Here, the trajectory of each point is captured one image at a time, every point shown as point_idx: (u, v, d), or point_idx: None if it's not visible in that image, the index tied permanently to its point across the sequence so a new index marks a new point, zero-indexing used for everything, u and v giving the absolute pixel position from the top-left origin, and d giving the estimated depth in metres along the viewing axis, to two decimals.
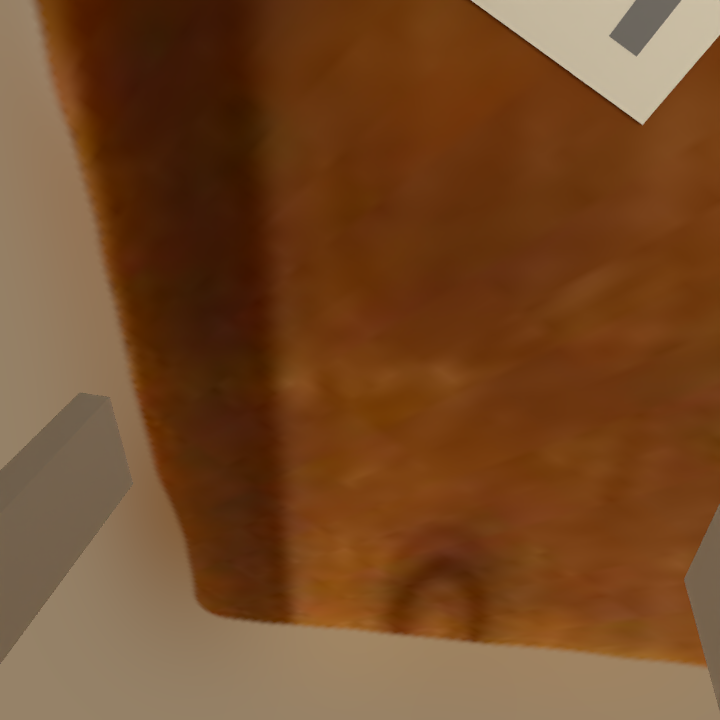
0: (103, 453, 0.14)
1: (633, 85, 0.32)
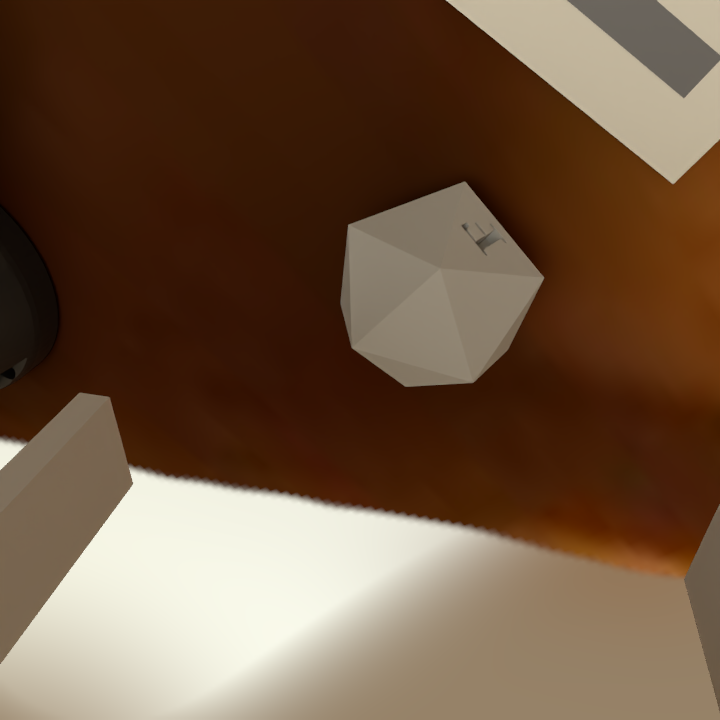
0: (103, 453, 0.14)
1: None
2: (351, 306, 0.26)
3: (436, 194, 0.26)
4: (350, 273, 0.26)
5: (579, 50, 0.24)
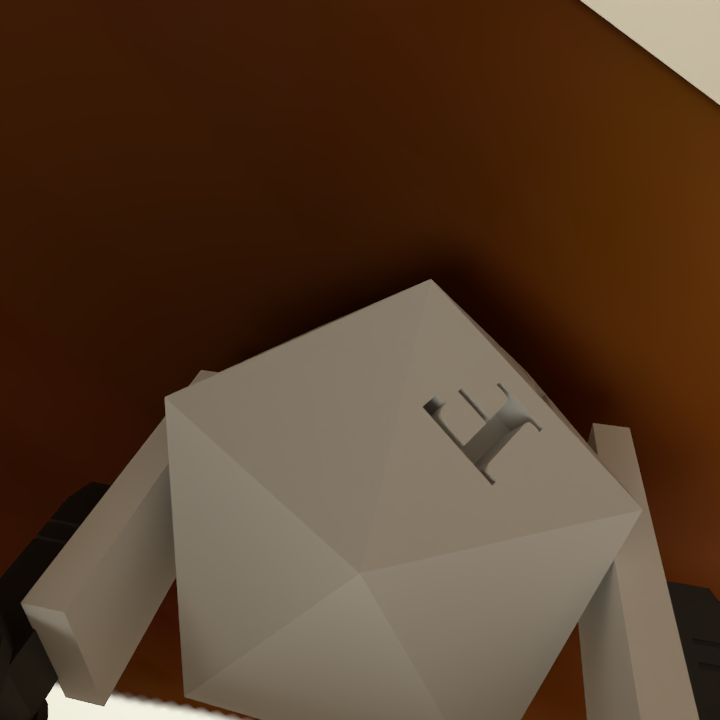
0: None
1: None
2: (179, 595, 0.11)
3: (363, 315, 0.11)
4: (173, 514, 0.11)
5: None
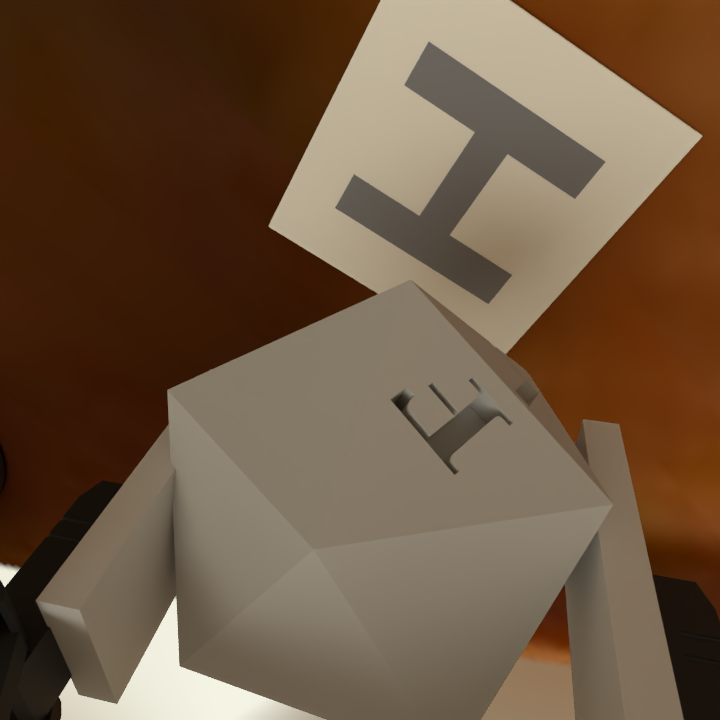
0: None
1: (643, 157, 0.24)
2: (176, 572, 0.12)
3: (346, 314, 0.11)
4: (173, 497, 0.12)
5: (396, 269, 0.29)
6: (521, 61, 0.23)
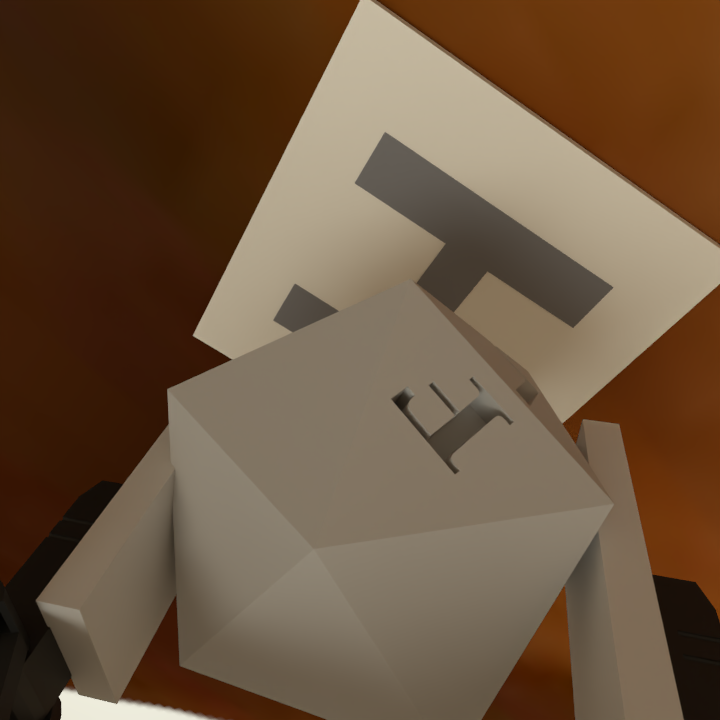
0: None
1: (662, 285, 0.18)
2: (176, 571, 0.12)
3: (347, 313, 0.11)
4: (173, 497, 0.12)
5: None
6: (506, 161, 0.17)
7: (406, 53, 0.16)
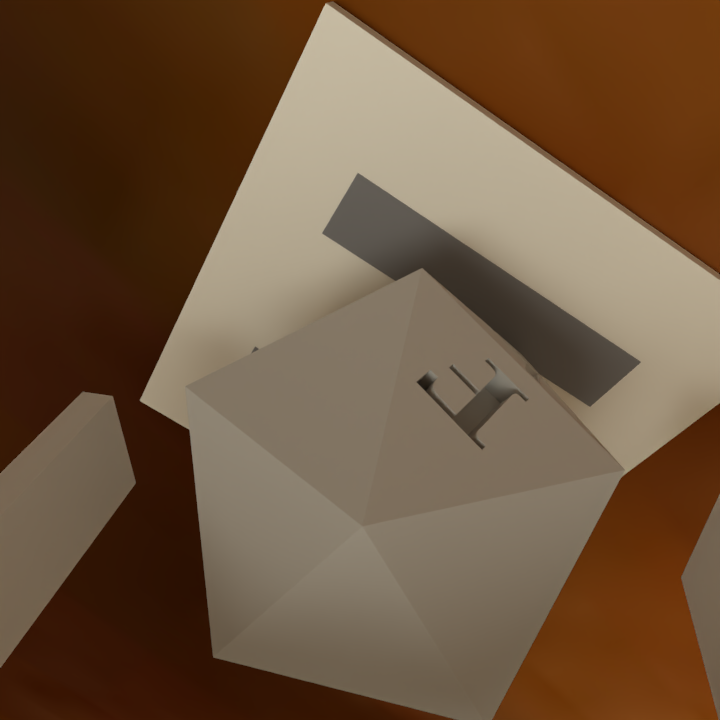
0: (106, 452, 0.14)
1: (701, 361, 0.15)
2: (204, 565, 0.12)
3: (362, 303, 0.12)
4: (197, 492, 0.12)
5: None
6: (508, 211, 0.14)
7: (382, 77, 0.13)
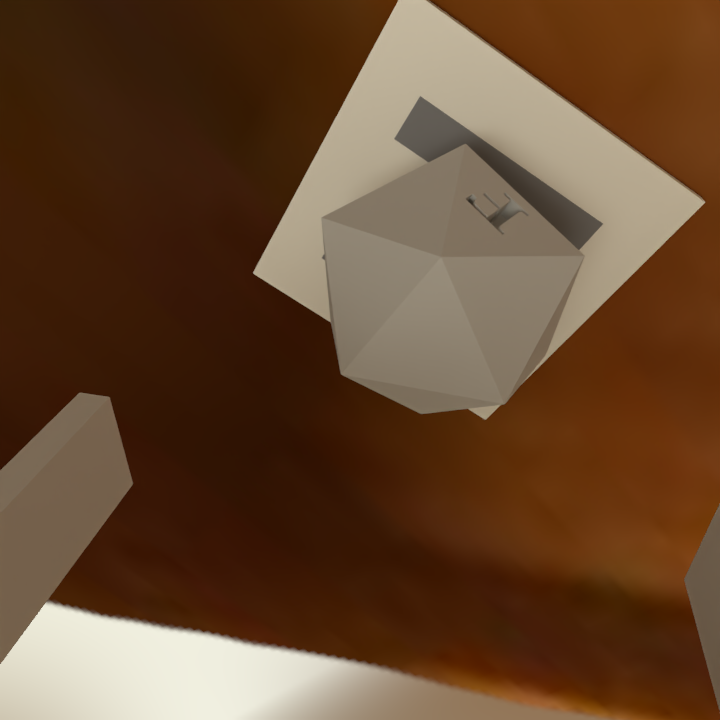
0: (103, 453, 0.14)
1: (642, 221, 0.23)
2: (335, 321, 0.20)
3: (429, 164, 0.20)
4: (329, 279, 0.20)
5: None
6: (516, 119, 0.22)
7: (439, 32, 0.21)
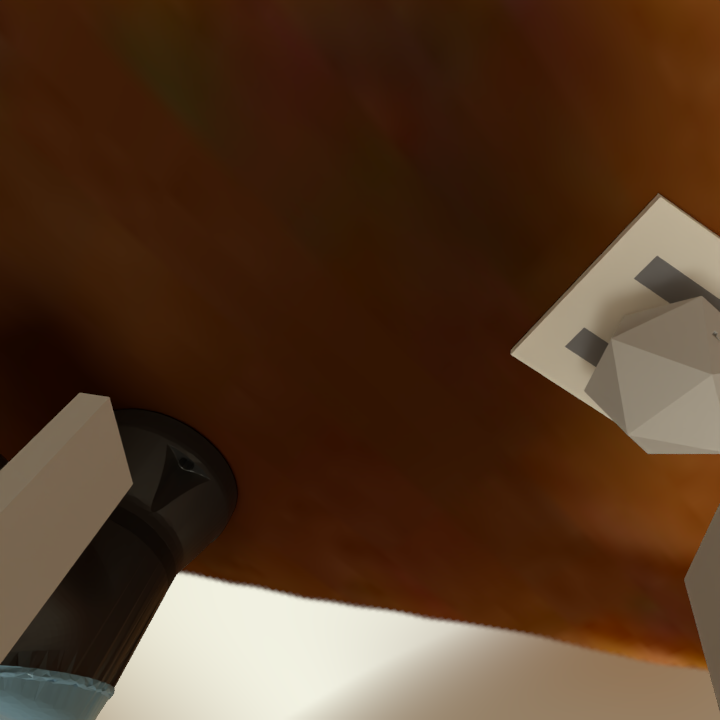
0: (103, 453, 0.14)
1: None
2: (623, 402, 0.33)
3: (680, 308, 0.33)
4: (618, 376, 0.33)
5: None
6: (719, 271, 0.35)
7: (677, 222, 0.34)
